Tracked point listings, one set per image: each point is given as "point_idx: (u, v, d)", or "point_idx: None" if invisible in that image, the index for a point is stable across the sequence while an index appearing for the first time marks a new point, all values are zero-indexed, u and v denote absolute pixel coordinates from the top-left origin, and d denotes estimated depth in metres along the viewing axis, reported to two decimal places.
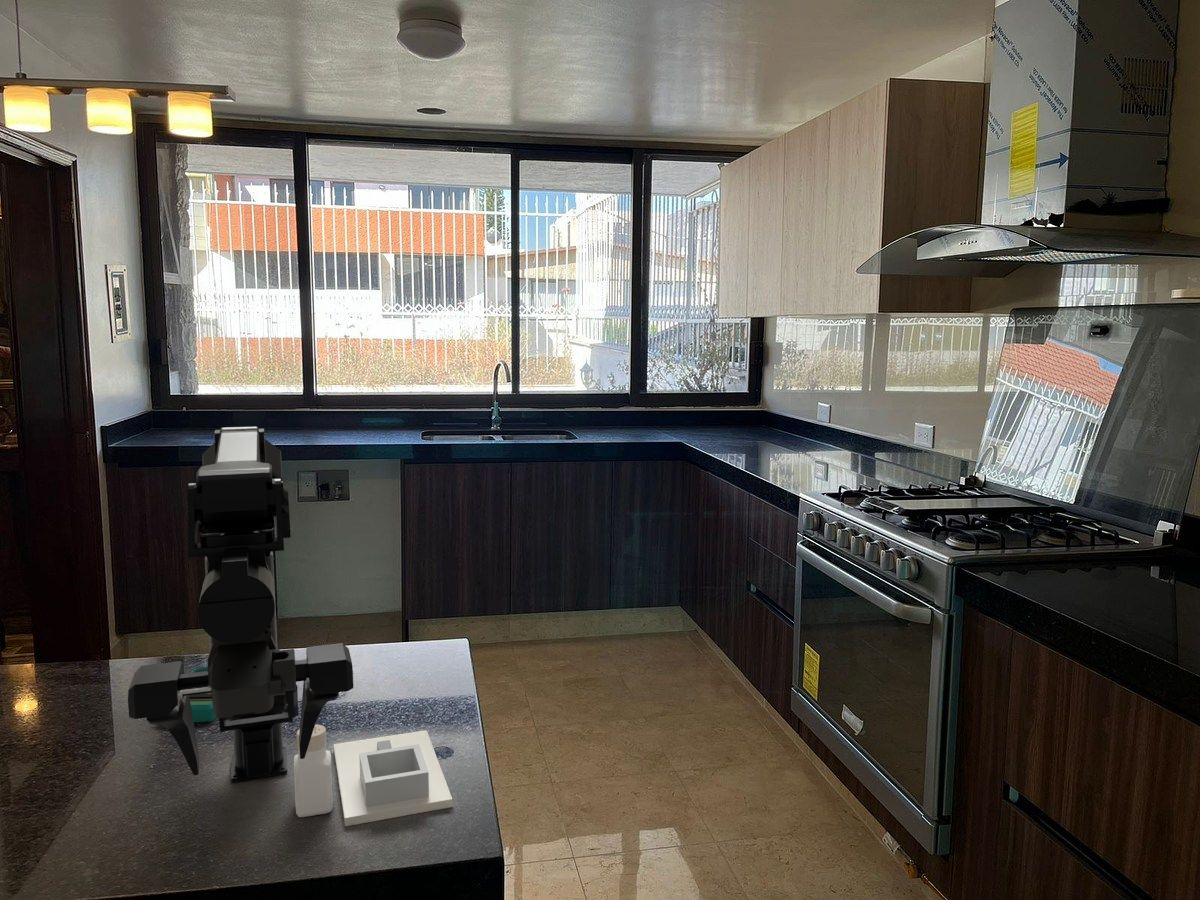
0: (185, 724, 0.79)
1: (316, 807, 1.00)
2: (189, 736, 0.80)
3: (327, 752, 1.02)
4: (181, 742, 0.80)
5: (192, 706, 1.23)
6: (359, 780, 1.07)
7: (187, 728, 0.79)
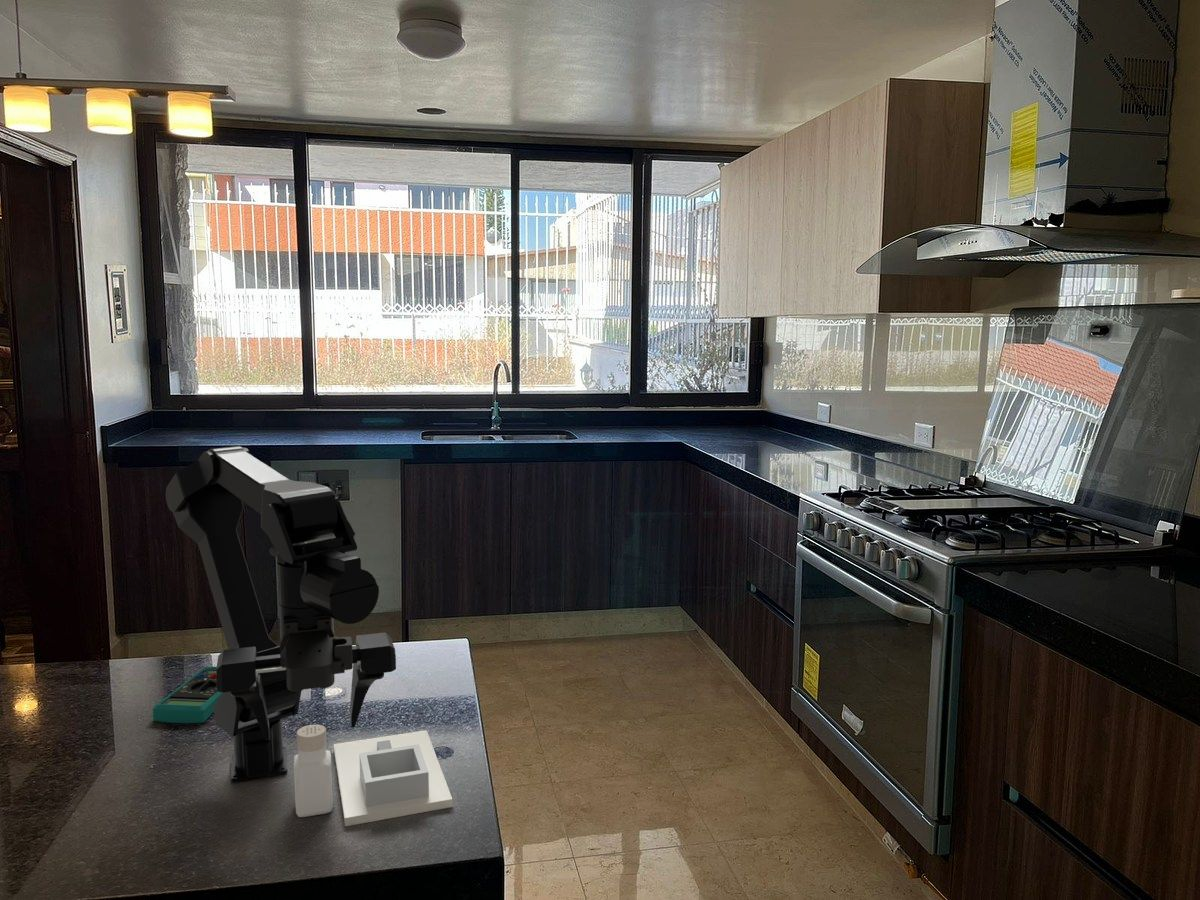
0: (260, 697, 0.97)
1: (316, 807, 1.00)
2: (263, 707, 0.97)
3: (327, 752, 1.02)
4: (257, 712, 0.97)
5: (184, 706, 1.23)
6: (359, 780, 1.07)
7: (262, 701, 0.97)
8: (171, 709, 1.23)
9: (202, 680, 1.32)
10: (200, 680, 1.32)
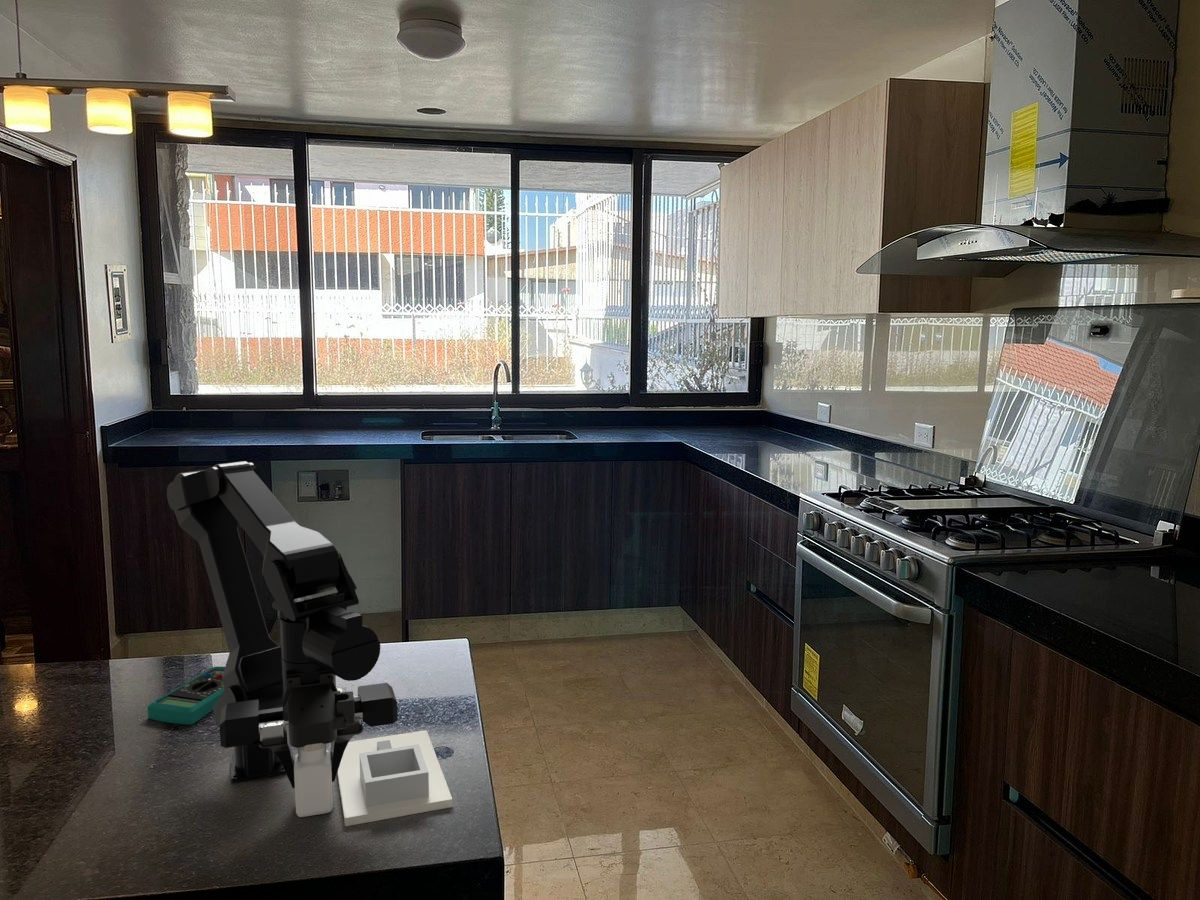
0: (288, 747, 0.98)
1: (316, 807, 1.00)
2: (290, 757, 0.99)
3: (327, 752, 1.02)
4: (284, 762, 0.99)
5: (175, 707, 1.23)
6: (359, 780, 1.07)
7: (289, 750, 0.99)
8: (162, 709, 1.23)
9: (206, 680, 1.32)
10: (204, 680, 1.32)
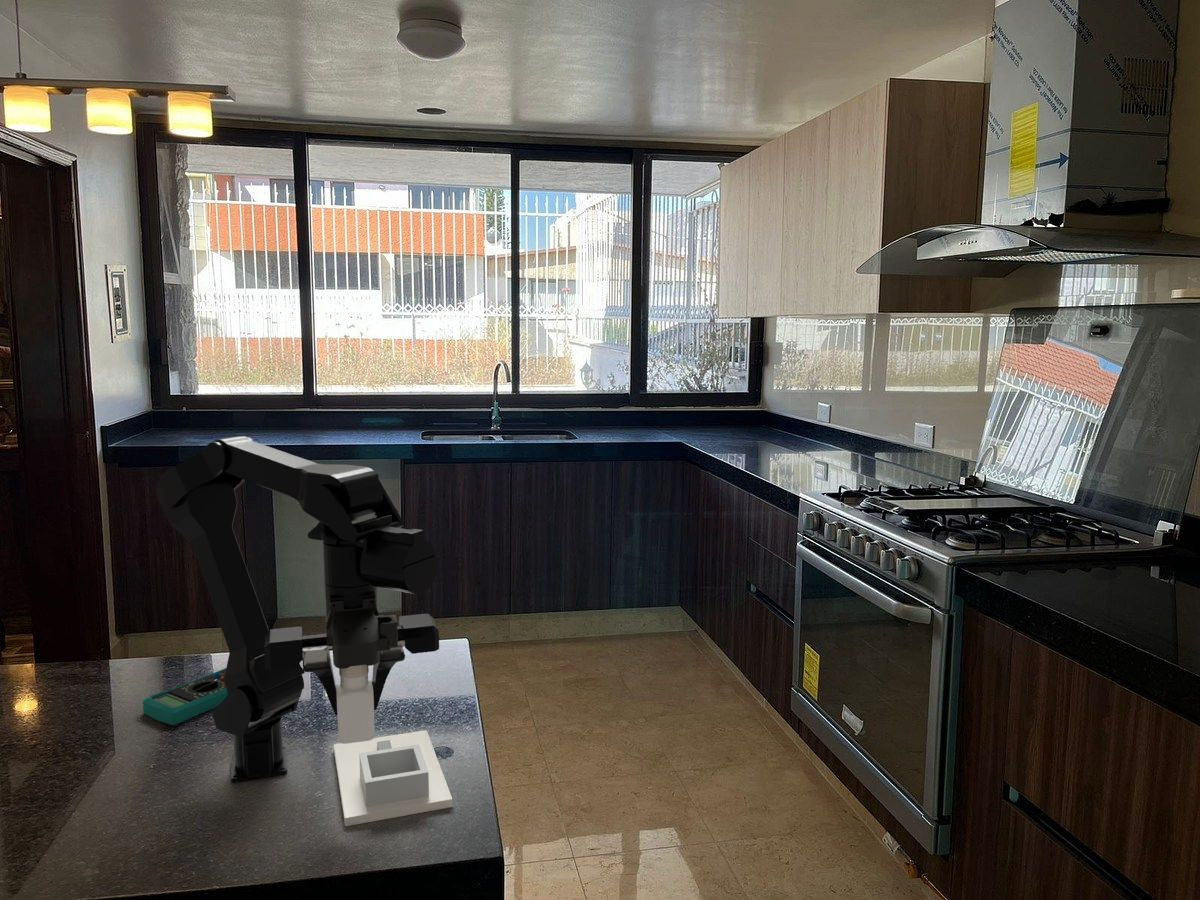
0: (331, 673, 0.99)
1: (358, 734, 1.01)
2: (333, 683, 1.00)
3: (369, 680, 1.03)
4: (327, 688, 0.99)
5: (162, 705, 1.23)
6: (359, 780, 1.07)
7: (332, 676, 0.99)
8: (152, 705, 1.24)
9: (211, 681, 1.32)
10: (210, 680, 1.32)
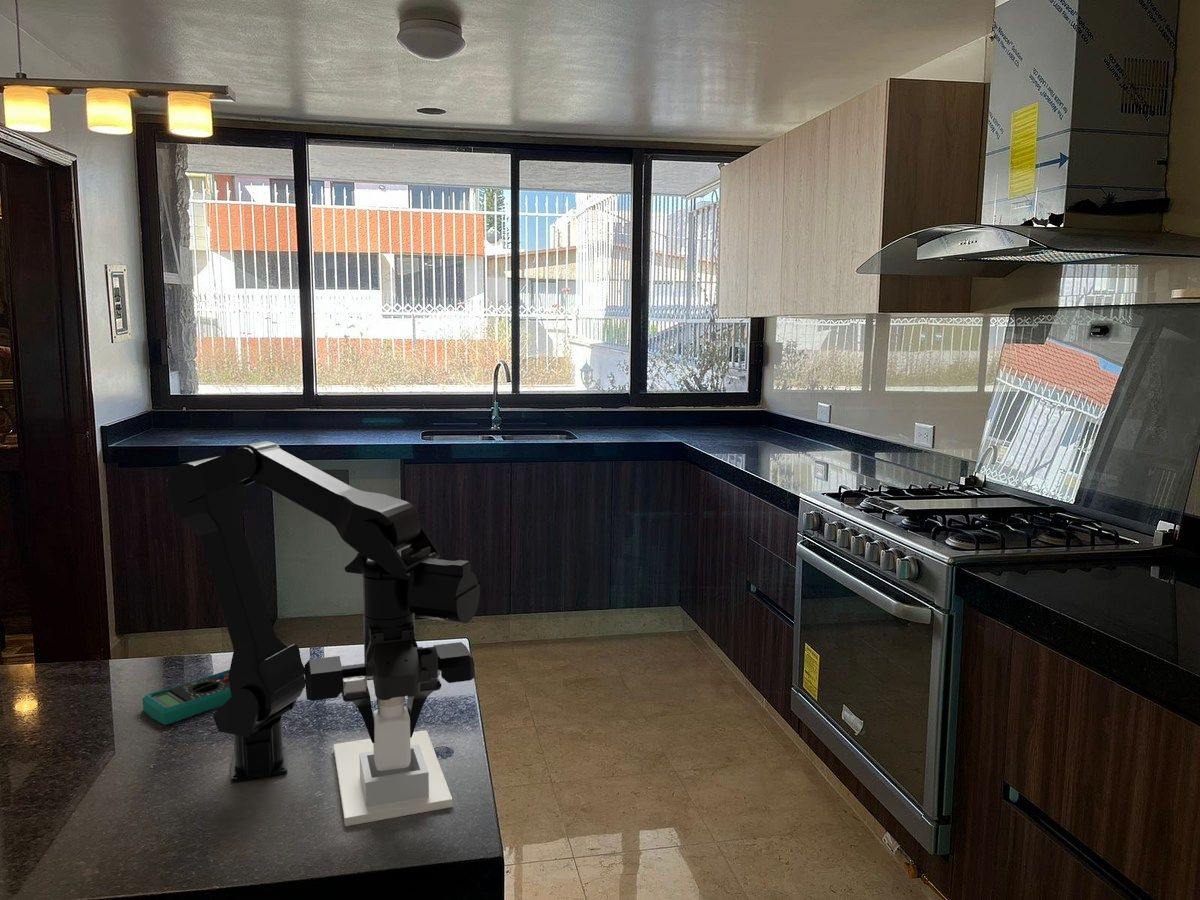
0: (370, 702, 1.01)
1: (395, 761, 1.03)
2: (371, 712, 1.02)
3: (405, 708, 1.05)
4: (365, 716, 1.02)
5: (157, 704, 1.24)
6: (359, 780, 1.07)
7: (370, 705, 1.02)
8: (149, 703, 1.24)
9: (214, 681, 1.32)
10: (213, 680, 1.32)
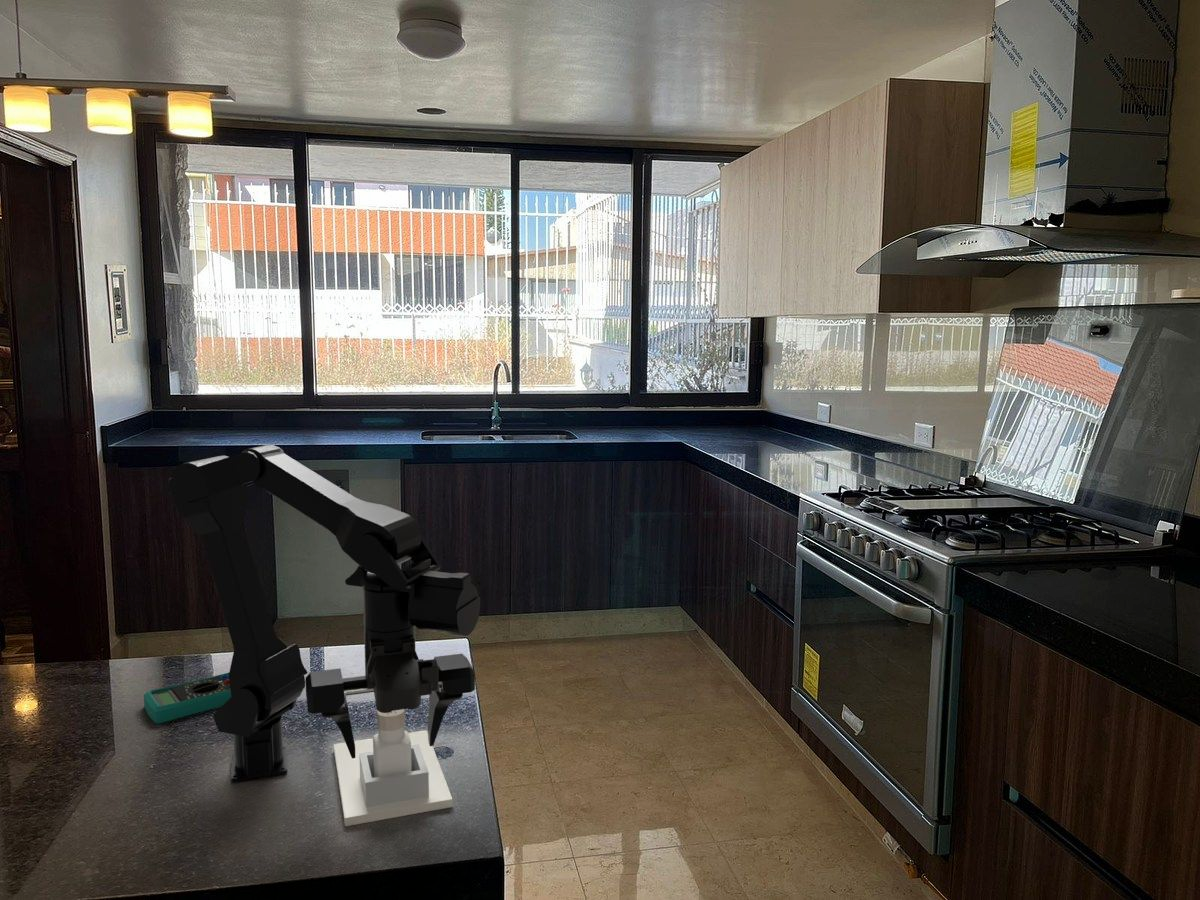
0: (349, 718, 1.00)
1: None
2: (350, 727, 1.01)
3: (405, 732, 1.05)
4: (344, 732, 1.01)
5: (152, 702, 1.24)
6: (359, 780, 1.07)
7: (349, 721, 1.01)
8: (146, 700, 1.25)
9: (216, 682, 1.31)
10: (215, 681, 1.32)
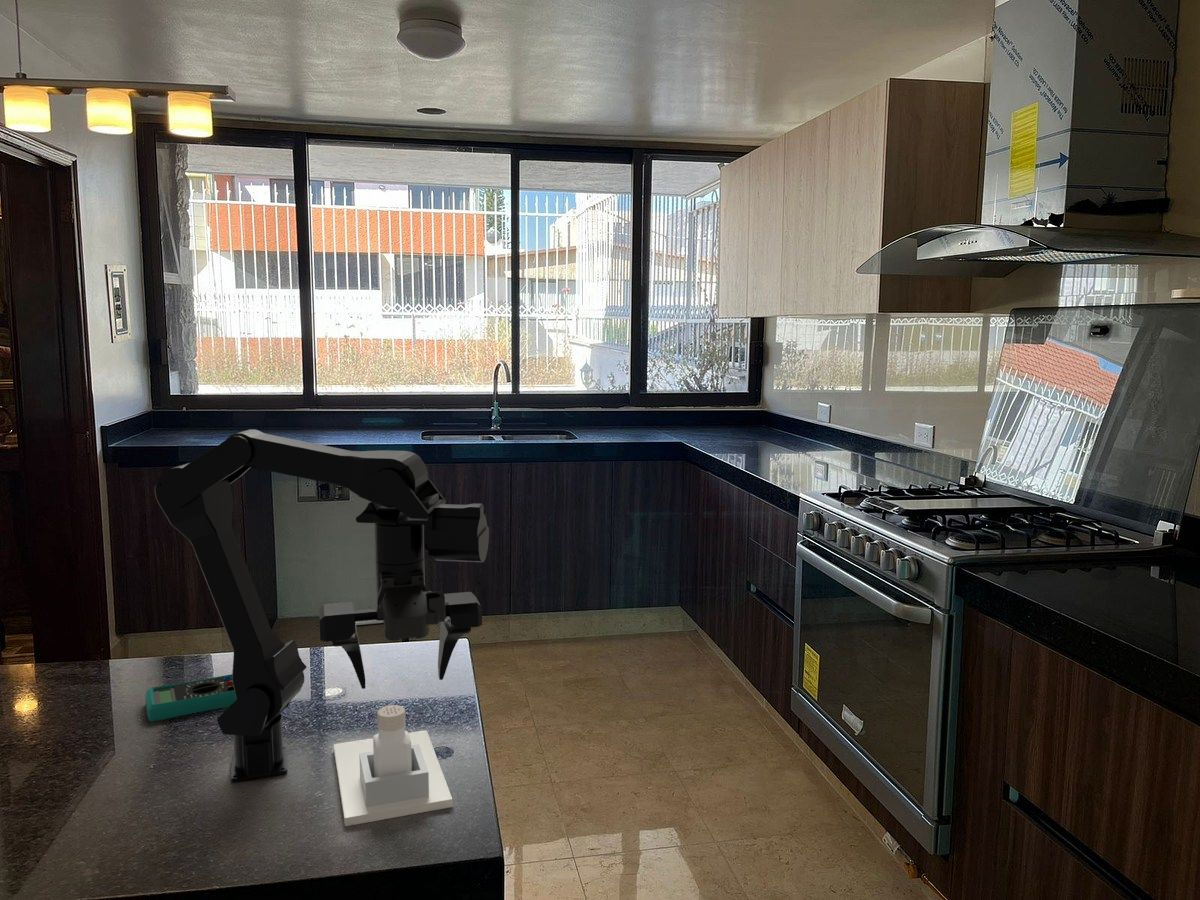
0: (359, 648, 1.04)
1: None
2: (360, 657, 1.05)
3: (405, 732, 1.05)
4: (354, 662, 1.05)
5: (149, 699, 1.25)
6: (359, 780, 1.07)
7: (359, 651, 1.04)
8: None
9: (217, 683, 1.31)
10: (217, 682, 1.31)
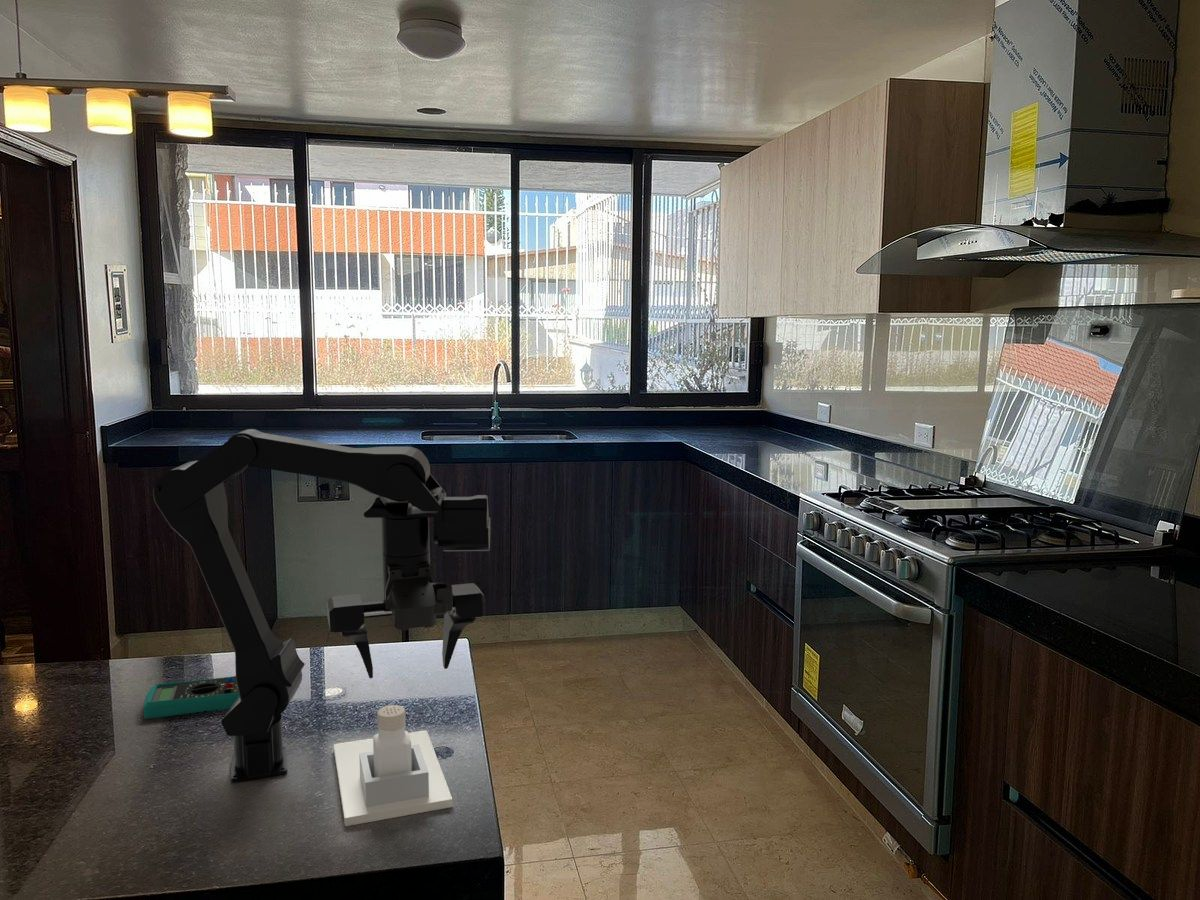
0: (367, 638, 1.07)
1: None
2: (368, 648, 1.08)
3: (405, 732, 1.05)
4: (363, 652, 1.08)
5: (148, 696, 1.26)
6: (359, 780, 1.07)
7: (367, 642, 1.07)
8: (147, 694, 1.27)
9: (218, 684, 1.31)
10: (219, 683, 1.31)
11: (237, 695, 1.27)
